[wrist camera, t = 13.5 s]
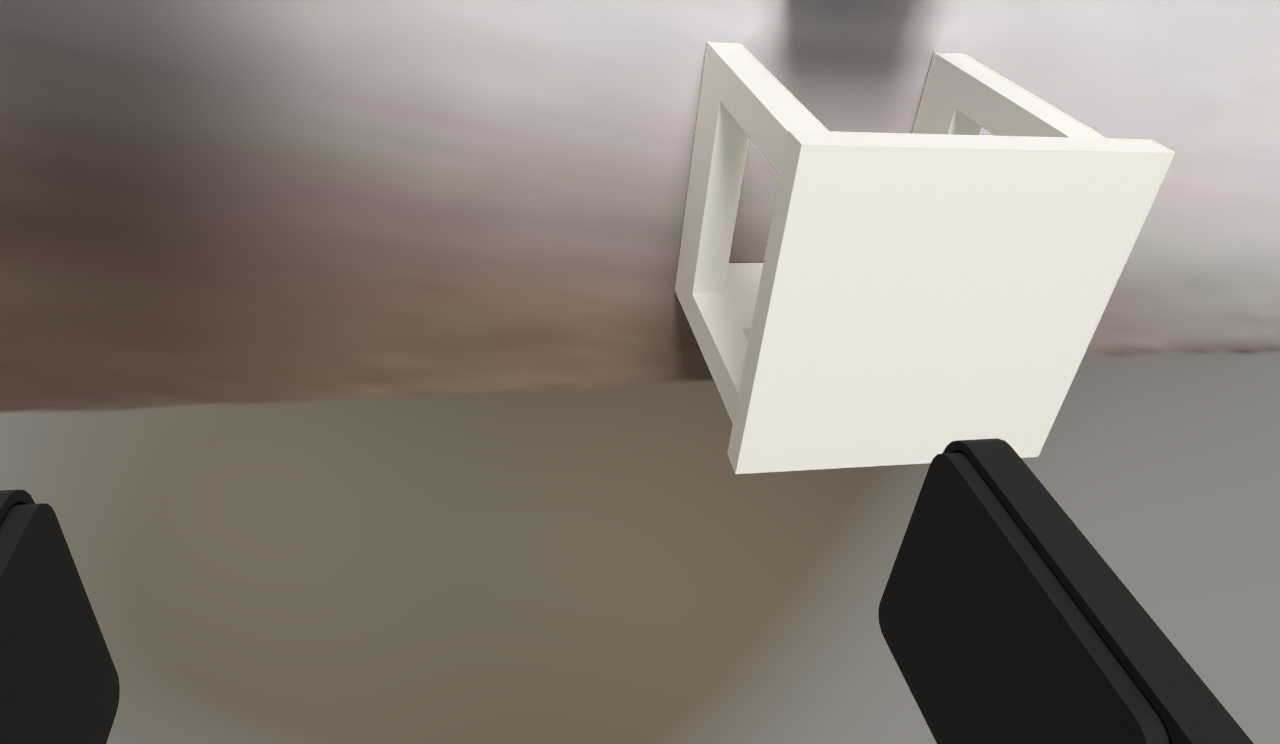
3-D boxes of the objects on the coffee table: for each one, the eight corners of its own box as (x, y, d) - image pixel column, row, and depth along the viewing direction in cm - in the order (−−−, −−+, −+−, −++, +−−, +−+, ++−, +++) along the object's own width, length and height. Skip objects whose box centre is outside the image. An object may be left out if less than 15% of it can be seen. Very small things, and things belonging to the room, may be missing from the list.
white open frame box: (697, 29, 37) (801, 144, 26) (977, 42, 39) (1175, 152, 29) (663, 299, 44) (735, 474, 34) (902, 295, 47) (1038, 456, 36)
